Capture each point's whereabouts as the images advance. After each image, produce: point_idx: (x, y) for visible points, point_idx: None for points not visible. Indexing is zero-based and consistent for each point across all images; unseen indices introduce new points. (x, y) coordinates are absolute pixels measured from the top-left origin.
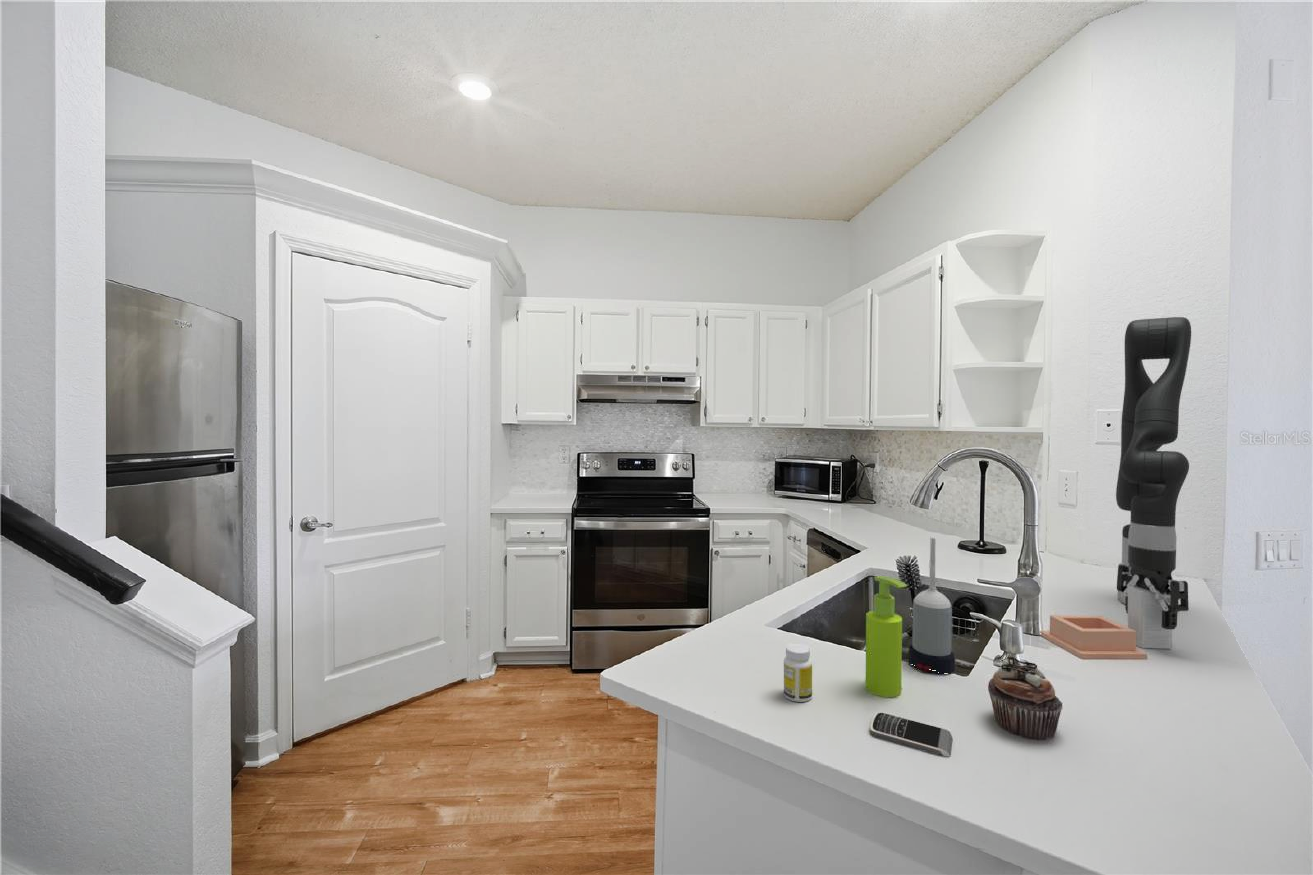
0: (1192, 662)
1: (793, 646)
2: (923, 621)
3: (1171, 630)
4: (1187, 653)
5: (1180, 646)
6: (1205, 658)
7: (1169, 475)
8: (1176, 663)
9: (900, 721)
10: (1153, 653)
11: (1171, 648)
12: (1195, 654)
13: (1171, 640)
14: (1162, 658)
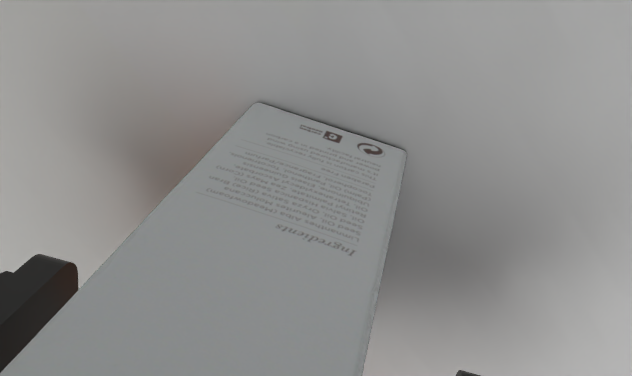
0: (626, 258)
1: None
2: None
3: (388, 231)
4: (498, 111)
5: (371, 2)
6: (621, 79)
7: None
8: (593, 366)
9: None
10: (427, 333)
11: (404, 153)
12: (534, 68)
13: (400, 186)
14: (505, 363)
